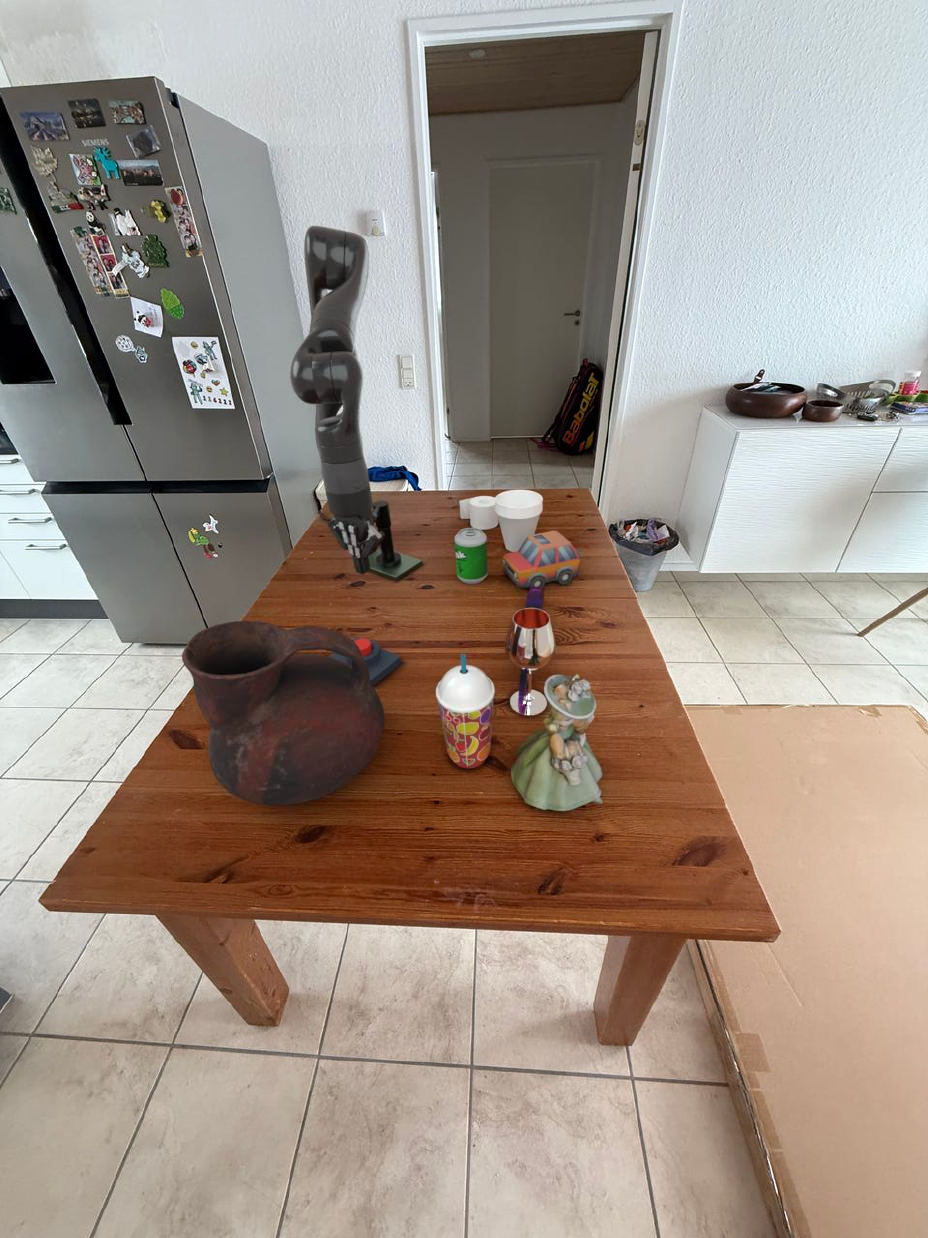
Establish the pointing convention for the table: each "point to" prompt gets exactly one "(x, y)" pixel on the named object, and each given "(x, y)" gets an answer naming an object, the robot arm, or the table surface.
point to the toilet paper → (479, 512)
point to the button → (364, 646)
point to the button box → (375, 662)
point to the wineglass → (530, 654)
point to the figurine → (560, 751)
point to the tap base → (391, 560)
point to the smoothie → (466, 713)
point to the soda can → (471, 555)
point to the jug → (283, 710)
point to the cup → (518, 516)
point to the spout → (381, 514)
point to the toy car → (542, 561)
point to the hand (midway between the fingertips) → (362, 571)
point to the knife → (536, 601)
